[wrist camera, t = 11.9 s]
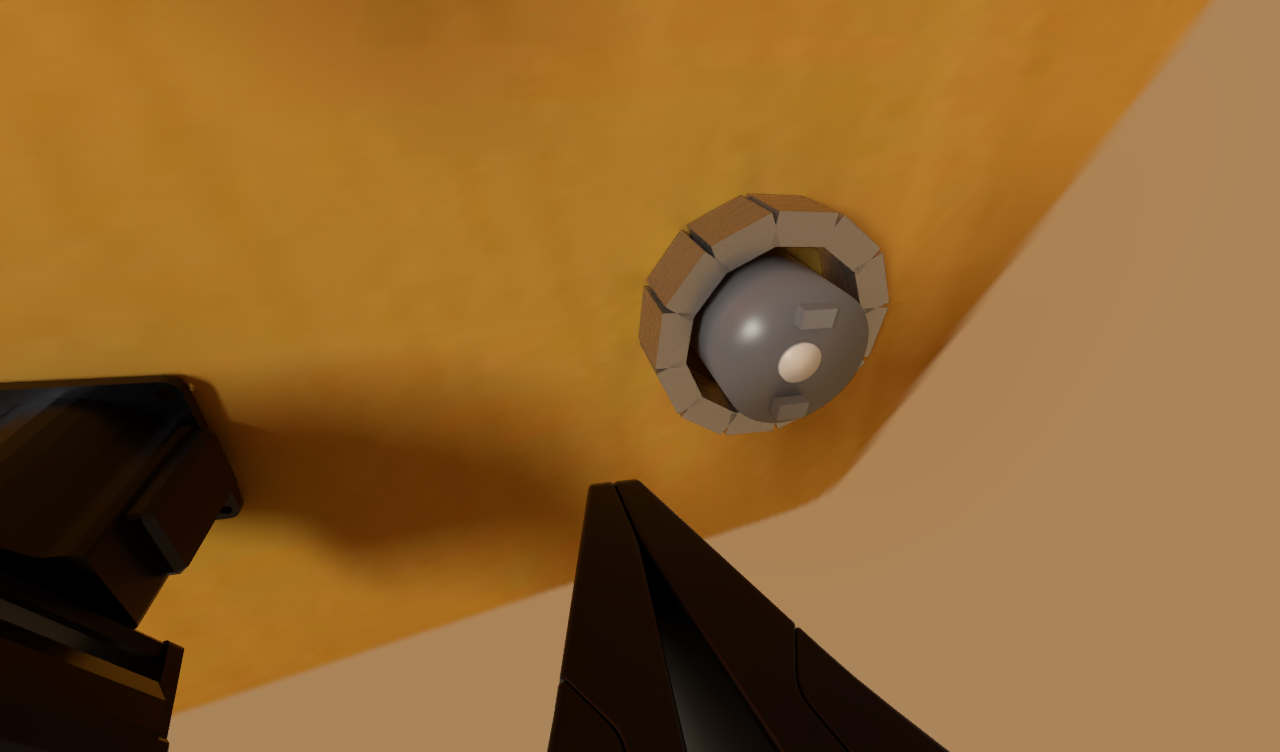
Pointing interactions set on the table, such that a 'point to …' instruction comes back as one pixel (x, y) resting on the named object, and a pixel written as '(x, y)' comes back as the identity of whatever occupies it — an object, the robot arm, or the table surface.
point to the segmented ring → (720, 250)
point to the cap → (779, 338)
